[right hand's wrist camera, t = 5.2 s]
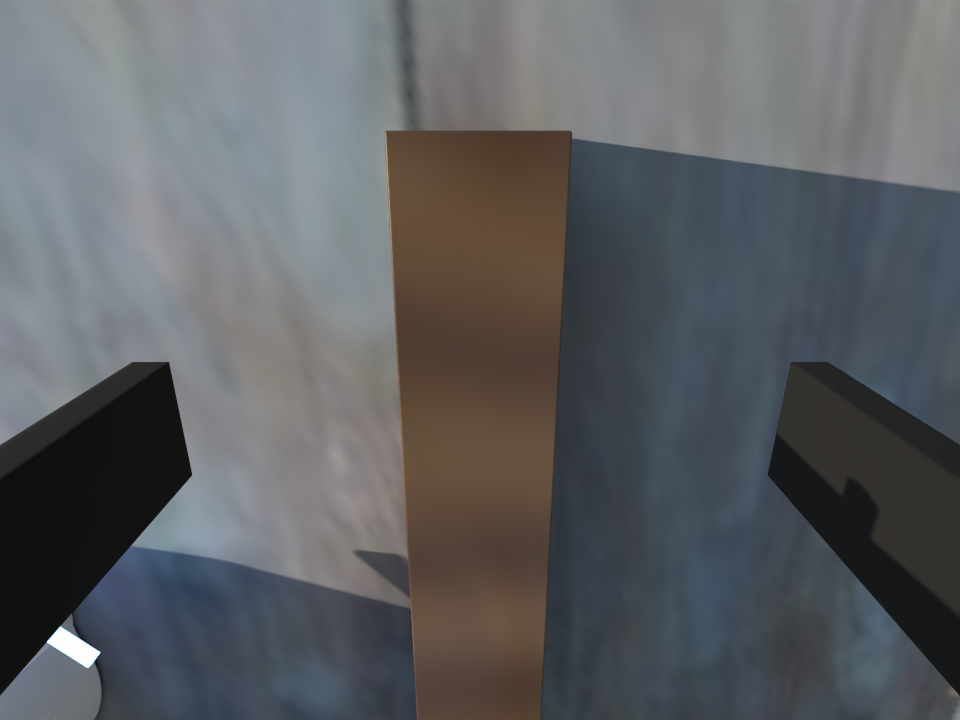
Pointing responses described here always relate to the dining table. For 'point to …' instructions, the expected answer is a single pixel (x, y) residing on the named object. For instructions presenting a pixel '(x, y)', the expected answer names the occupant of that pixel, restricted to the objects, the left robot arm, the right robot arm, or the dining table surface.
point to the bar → (478, 405)
